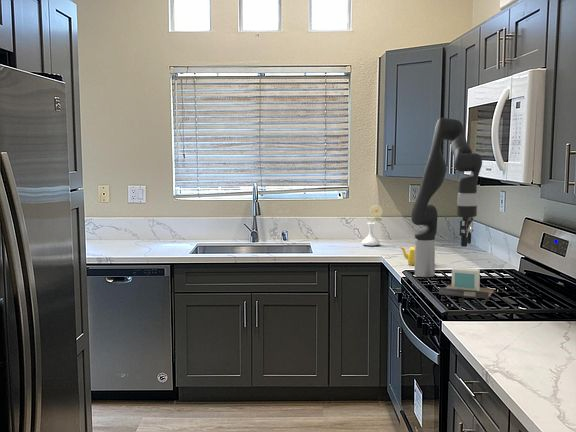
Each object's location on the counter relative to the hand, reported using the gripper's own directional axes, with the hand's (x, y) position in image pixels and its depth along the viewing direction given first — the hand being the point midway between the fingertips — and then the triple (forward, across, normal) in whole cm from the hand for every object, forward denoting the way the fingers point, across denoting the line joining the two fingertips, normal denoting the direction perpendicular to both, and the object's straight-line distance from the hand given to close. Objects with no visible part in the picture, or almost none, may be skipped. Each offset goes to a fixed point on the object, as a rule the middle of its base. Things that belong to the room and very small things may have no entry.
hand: (466, 244), depth 247 cm
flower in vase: (+22, +109, +76) cm, 135 cm away
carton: (+20, 0, 0) cm, 20 cm away
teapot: (+22, +62, +36) cm, 75 cm away
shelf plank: (+21, +4, 0) cm, 22 cm away
